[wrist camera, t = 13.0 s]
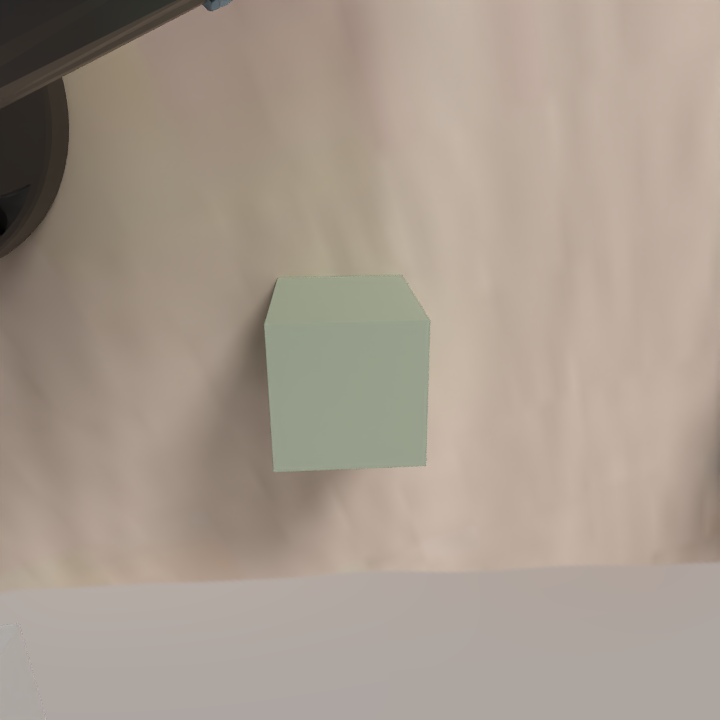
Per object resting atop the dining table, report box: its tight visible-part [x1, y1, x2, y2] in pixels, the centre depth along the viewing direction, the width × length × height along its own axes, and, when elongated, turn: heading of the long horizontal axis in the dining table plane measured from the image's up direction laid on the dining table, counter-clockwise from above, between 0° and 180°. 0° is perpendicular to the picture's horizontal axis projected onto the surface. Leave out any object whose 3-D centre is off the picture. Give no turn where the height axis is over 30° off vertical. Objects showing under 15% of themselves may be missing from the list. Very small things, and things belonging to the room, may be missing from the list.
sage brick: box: [264, 275, 430, 472], centre depth 27 cm, size 6×6×8 cm
